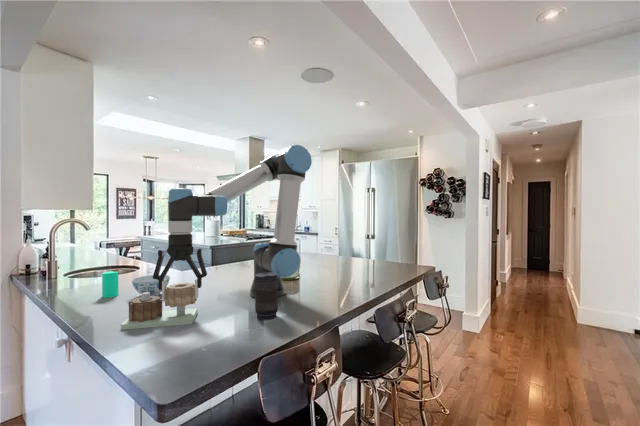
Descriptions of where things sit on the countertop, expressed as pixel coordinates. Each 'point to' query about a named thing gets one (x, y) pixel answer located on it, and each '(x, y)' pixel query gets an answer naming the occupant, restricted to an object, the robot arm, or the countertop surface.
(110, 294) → the candle
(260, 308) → the camera lens
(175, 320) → the gear board
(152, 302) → the walnut gear
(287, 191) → the robot arm
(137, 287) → the chinaware
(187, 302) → the maple gear
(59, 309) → the countertop surface
